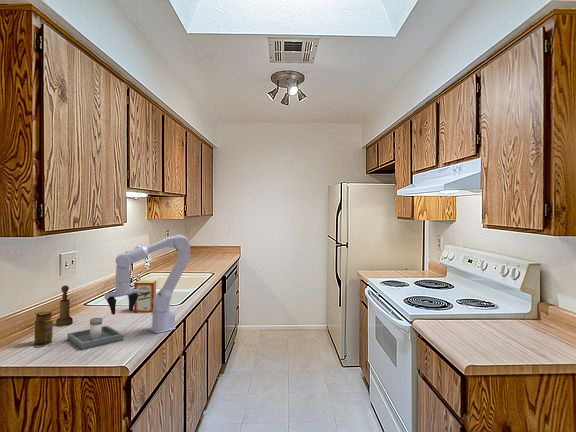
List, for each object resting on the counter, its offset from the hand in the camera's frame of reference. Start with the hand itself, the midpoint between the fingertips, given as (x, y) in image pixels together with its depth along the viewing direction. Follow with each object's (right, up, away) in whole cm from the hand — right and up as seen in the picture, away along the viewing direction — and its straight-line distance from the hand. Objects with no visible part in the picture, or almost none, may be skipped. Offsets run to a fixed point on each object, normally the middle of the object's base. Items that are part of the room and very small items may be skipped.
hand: (122, 312), depth 166 cm
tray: (-8, -9, -8) cm, 14 cm away
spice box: (-4, -9, +37) cm, 39 cm away
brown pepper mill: (-32, -9, +11) cm, 35 cm away
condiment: (-26, -9, -13) cm, 30 cm away
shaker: (-8, -9, -8) cm, 14 cm away
